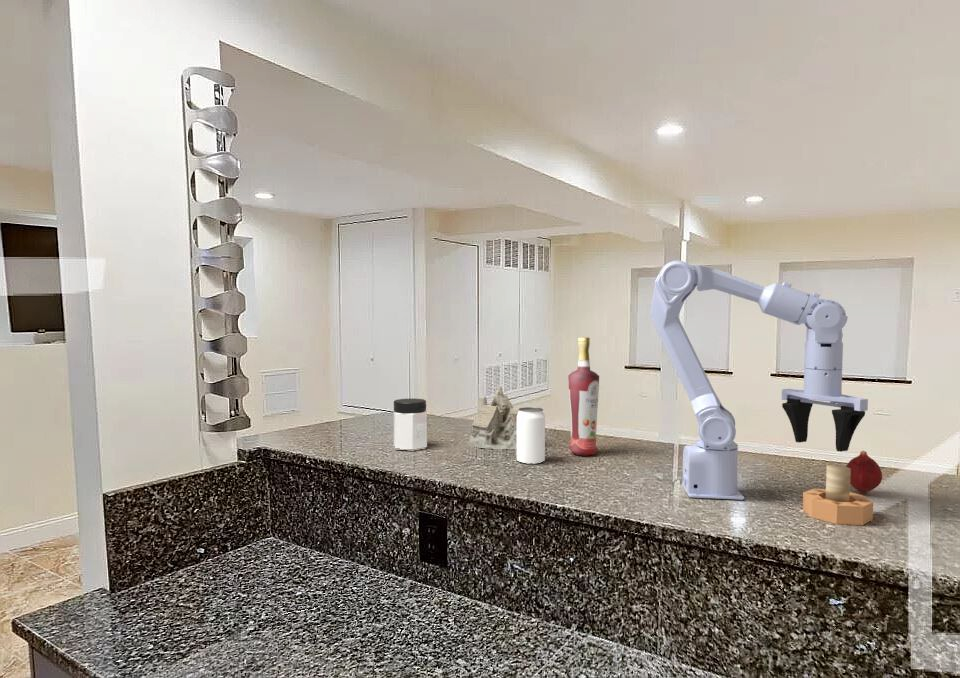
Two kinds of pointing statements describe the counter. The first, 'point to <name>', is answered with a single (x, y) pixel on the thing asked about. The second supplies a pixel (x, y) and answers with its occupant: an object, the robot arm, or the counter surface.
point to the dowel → (838, 483)
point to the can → (530, 435)
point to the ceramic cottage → (495, 423)
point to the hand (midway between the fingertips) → (820, 446)
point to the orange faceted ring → (838, 508)
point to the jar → (410, 423)
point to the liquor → (583, 403)
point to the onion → (864, 473)
